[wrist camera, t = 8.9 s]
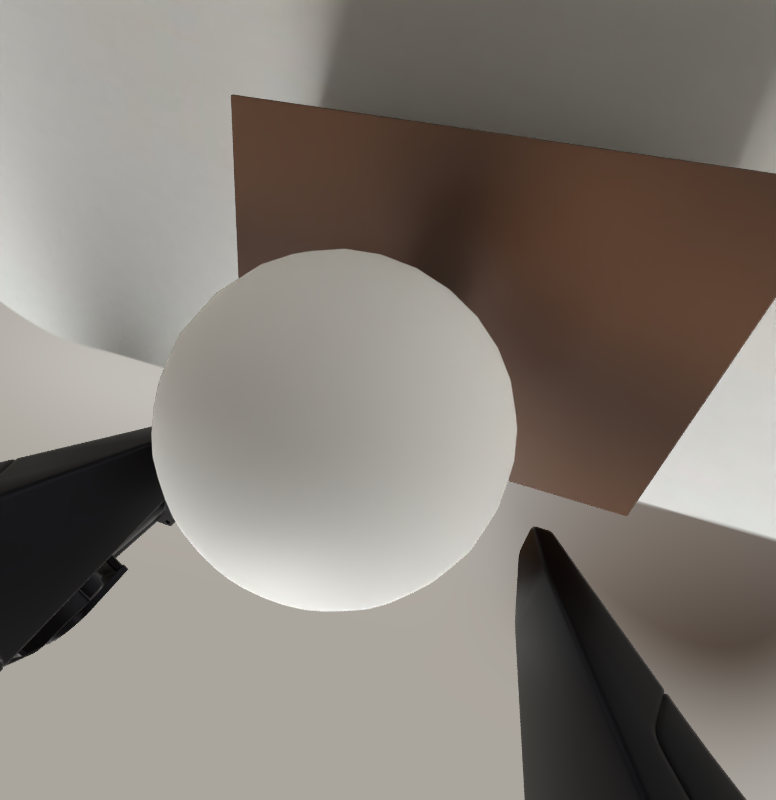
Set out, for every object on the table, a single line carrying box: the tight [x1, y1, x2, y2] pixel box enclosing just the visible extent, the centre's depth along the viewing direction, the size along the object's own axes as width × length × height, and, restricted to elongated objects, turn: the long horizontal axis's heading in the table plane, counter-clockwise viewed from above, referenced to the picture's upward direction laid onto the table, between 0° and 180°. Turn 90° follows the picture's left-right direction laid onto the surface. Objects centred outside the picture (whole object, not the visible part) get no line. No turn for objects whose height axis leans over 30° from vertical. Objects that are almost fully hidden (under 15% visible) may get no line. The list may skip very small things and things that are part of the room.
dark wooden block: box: [231, 95, 776, 516], centre depth 16 cm, size 12×18×6 cm, turn 80°
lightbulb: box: [151, 249, 517, 611], centre depth 9 cm, size 6×6×11 cm
